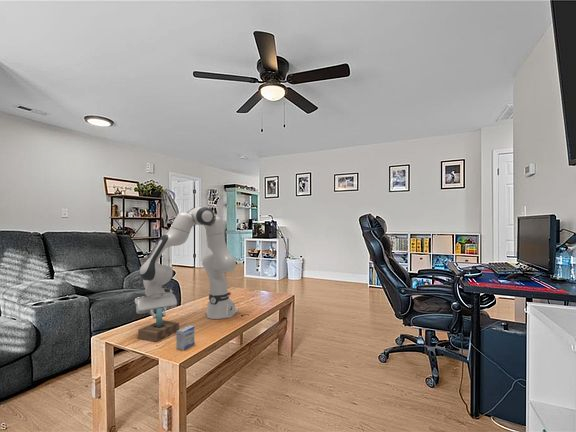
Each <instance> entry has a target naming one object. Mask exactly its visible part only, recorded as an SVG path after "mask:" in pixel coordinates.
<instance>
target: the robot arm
mask: <svg viewBox="0 0 576 432" xmlns="http://www.w3.org/2000/svg"><path fill="white" fill-rule="evenodd" d="M195 225H196V226H203V227H204V228H205V236H206V243H207V247H208V249H209V250H210V251H211V252H212V253H210V254H206V255H205V256H204V257H203V258H202V260H201V261H202V262H201V263H202V267H203V268H204V270H205V271H206V273H207V278H208V281H209V294H208V301H207V309H206V312H205V316H206V318H208V319H210V320H211V319H213V320H219V319H229V318H232V317H234V315H236V314H237V313H238V312H239V308H236V305H235V301H233V300H232V299H231V298H230V296H231V295H232V293H231V292H230V291H228V280H227V279H226V277H225V275H224V273H230V272H231V273H232V272H233V271H234V270H235V268H236V265H237V261H236V259H235V258H234V257H233V255H232V254H231V253H230V251H229V249H228V247H227V244H226V238H225V230H224V226H223V222H222V219H221V218H220V216H216V215H215V214H214V211H213V210H212V209H211V208H210V207H207V206H198V207H193V208H190V210H188V211H187V212H185V211H184V212H179V213H177V214H176V217H175V218H174V220H173V222H172V224H171V226H170V228H169V230H168V231H167V232H166V233H165V234H163V235H161V236H160V238H159V239H158V240H157V242H156V243H155V245H154V247H153V248H152V250H151V251H150V253H149V254H148V257H147V258H146V260H145V261H144V262H143V263H142V264H141V266H140V267H139V270H138V274H139V276H140V278H141V279H142V281H143V282H142V284H143V287H144V289H145V290H144V291H145V292H144V293H145V295H144V296H137V297H136V298H135V299H134V304H135V307H136V310H135V311H136V314H139V315H142V314H148V313H149V314H150V315H151V316H152V318H153V319H156V318H157V314H156V313H155V312H156V309H158V308H163V310H162V318H164V317H166V312H167V310H170V309H175V308H176V307H177V305H178V301H177V298H176V296H175V294H174V293H173V289H171V288H166V287H164V288H163V287H162V286H164V285H166V284H167V283H169V282H170V281H171V280H172V279H173V277H174V269H173V268H172V266H169V265H166V264H161V263H158V262H159V259H160V258H161V256H162V255H163V252H165V250H166V249H167V248H170V247H177V246H181V245H183V244H185V243H186V241H187V240H188V239H189V237H190V233H191V231H192V228H193V227H195Z"/></svg>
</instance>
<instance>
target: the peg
mask: <svg viewBox="0 0 576 432" xmlns="http://www.w3.org/2000/svg"><path fill="white" fill-rule="evenodd" d="M162 313H163V308H158V309H156V311H155V314H157V318H155V323H156V328H161V327H162V320H163V317H162Z"/></svg>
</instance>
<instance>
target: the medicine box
mask: <svg viewBox="0 0 576 432" xmlns="http://www.w3.org/2000/svg"><path fill="white" fill-rule="evenodd" d="M195 333H196V332H195V326H194V325H186V326H183V327H181V328H179V330H177V331H176V333H175V335H176V337H175V338H176V340H175V342H176V344H175V346H176V347H175V348H176V350H181V351H185V350H187V349H188V348H190V347H191V346H193V345H195Z"/></svg>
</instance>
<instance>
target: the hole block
mask: <svg viewBox="0 0 576 432" xmlns="http://www.w3.org/2000/svg"><path fill="white" fill-rule="evenodd" d="M179 329H180V322H176V321H171V320H165V319H164V320H163V319H162V327H161V328H156V322H155V323H152V324H149V325H147V326H144V327H141V328H140V329H138V331H137V339H138V340H142V341H148V342H154V343H157V342H160V341H161V340H163V339H166V338H168V337H169V336H171V335H174V334H176V331H177V330H179Z"/></svg>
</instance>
